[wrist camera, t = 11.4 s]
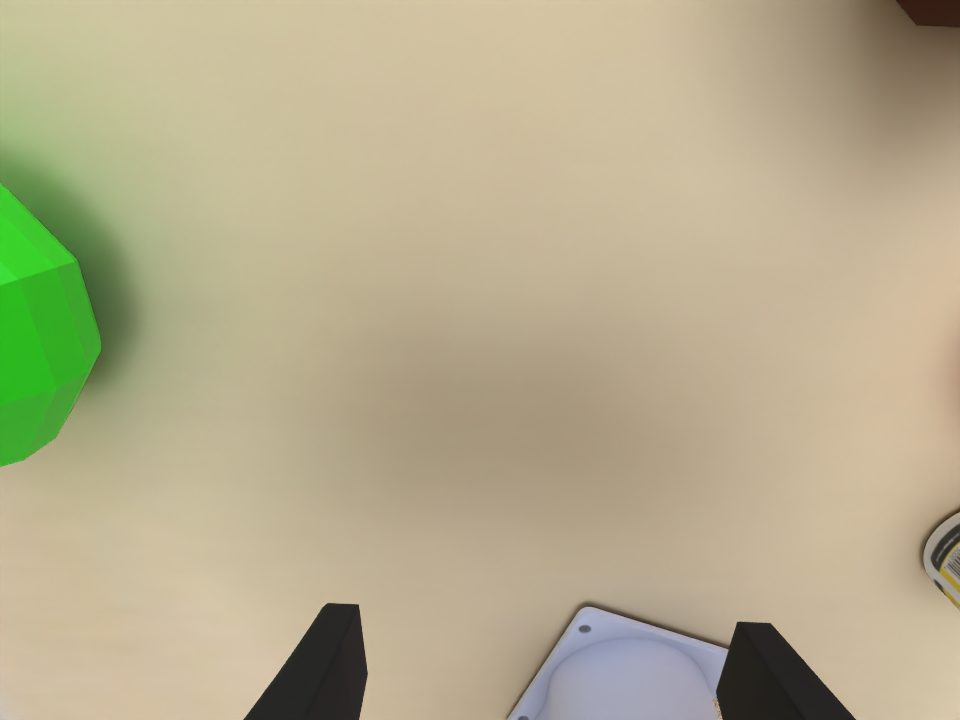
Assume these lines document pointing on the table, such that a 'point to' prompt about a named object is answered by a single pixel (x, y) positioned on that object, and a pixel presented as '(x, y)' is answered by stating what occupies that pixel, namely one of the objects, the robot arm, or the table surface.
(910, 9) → the ice cream bowl
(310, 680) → the robot arm
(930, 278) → the table surface
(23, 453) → the plastic bottle
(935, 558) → the supplement bottle
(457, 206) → the table surface
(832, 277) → the table surface
